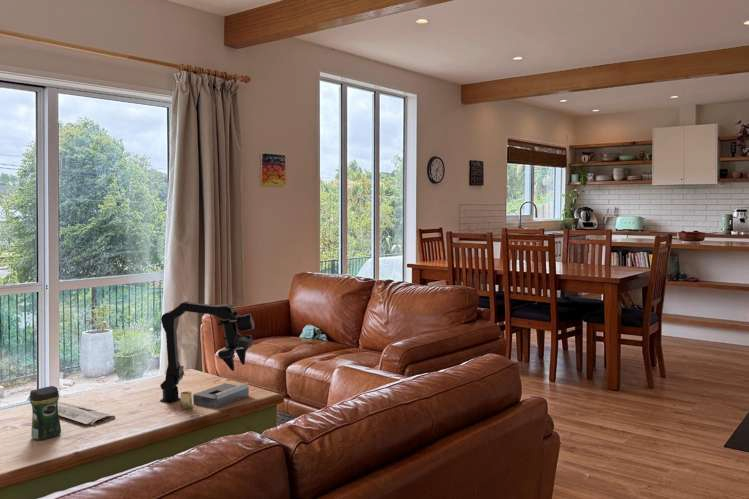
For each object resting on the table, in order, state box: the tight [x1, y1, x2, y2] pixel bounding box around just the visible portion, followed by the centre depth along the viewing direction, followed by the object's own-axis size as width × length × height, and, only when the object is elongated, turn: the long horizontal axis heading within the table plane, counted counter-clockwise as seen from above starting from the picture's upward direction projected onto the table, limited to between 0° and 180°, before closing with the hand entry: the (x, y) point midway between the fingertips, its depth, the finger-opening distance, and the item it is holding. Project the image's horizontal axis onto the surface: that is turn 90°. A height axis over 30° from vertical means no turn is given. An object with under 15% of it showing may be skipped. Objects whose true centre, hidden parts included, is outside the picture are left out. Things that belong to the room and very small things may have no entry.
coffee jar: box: [29, 385, 62, 441], centre depth 239 cm, size 10×8×19 cm
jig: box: [192, 382, 250, 409], centre depth 284 cm, size 14×20×6 cm
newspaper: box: [58, 401, 116, 427], centre depth 263 cm, size 35×12×4 cm, turn 60°
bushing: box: [180, 390, 193, 412], centre depth 271 cm, size 4×4×7 cm
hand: (238, 367), depth 282 cm, fingers open, 9 cm apart
